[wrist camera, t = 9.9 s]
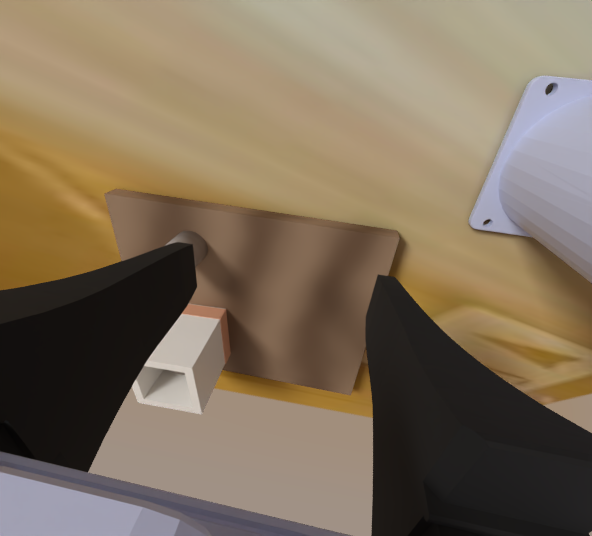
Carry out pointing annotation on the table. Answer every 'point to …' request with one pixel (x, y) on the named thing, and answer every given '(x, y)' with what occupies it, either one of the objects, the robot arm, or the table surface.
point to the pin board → (270, 281)
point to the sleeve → (186, 361)
